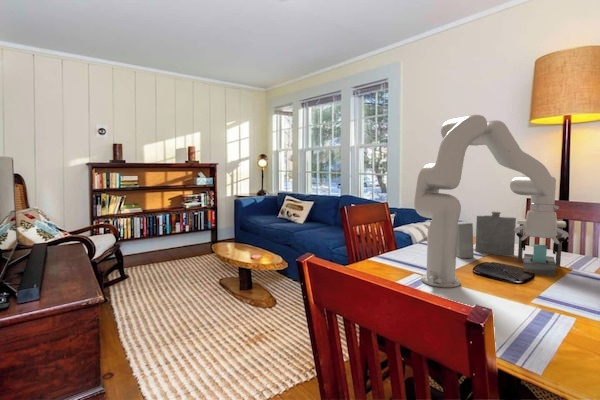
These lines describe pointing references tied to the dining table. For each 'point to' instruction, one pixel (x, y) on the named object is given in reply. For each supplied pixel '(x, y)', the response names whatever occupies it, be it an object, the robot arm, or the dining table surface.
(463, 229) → the skincare box
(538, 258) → the peg
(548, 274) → the socket stand
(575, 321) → the dining table surface
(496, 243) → the hip flask
